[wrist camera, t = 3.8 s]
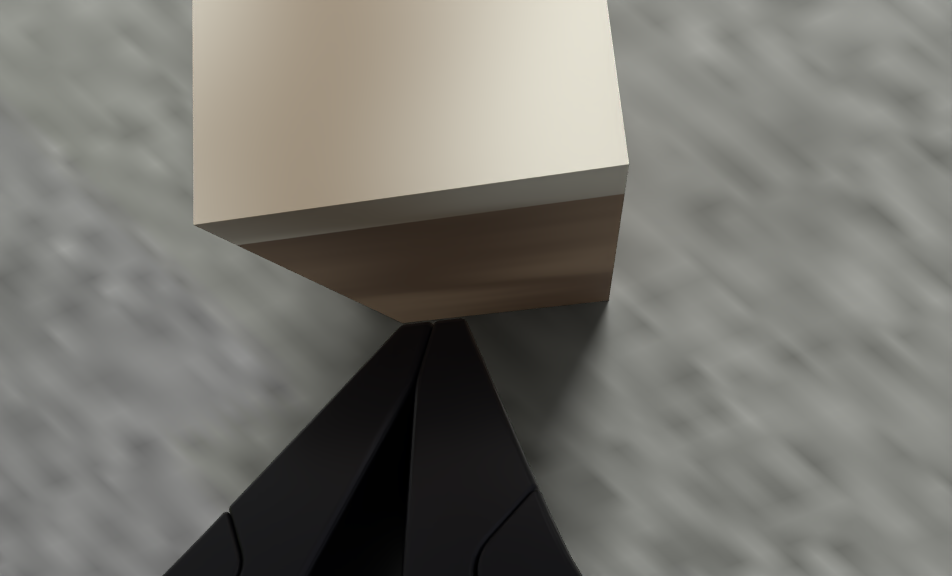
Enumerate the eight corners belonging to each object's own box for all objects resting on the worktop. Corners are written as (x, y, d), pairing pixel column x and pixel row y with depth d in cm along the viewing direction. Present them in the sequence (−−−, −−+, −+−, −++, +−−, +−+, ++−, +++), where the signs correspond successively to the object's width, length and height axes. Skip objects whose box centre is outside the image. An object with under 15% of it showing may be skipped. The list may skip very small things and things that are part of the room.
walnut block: (584, 103, 17) (575, -228, 8) (608, 300, 16) (629, 164, 7) (390, 132, 18) (191, -142, 9) (402, 323, 17) (193, 224, 8)
